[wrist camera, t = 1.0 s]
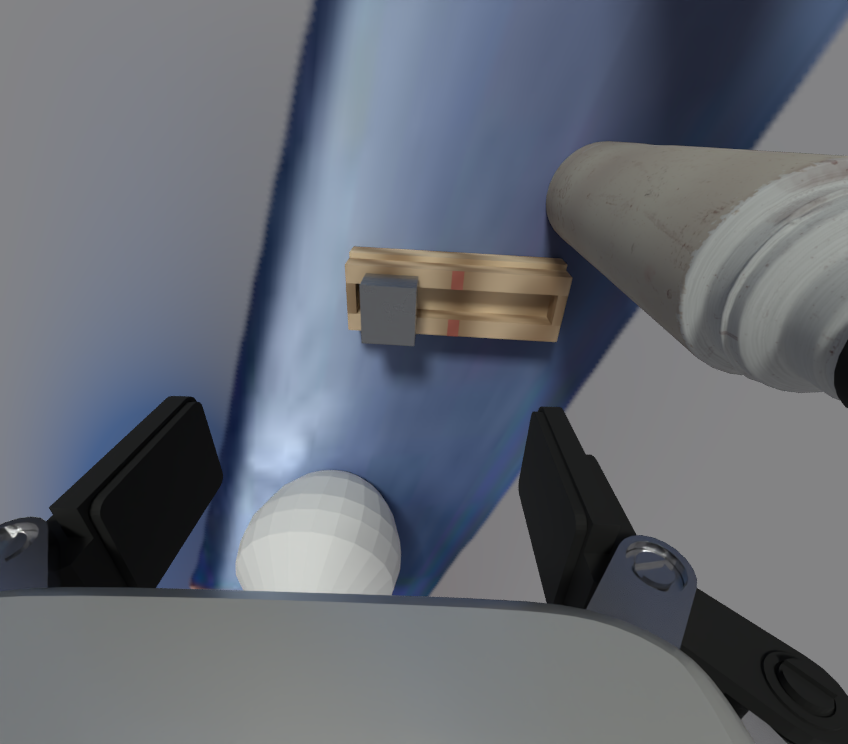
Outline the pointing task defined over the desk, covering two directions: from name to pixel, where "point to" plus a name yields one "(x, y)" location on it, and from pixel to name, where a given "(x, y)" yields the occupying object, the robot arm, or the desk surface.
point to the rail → (470, 291)
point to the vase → (321, 539)
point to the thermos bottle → (721, 251)
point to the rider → (388, 309)
